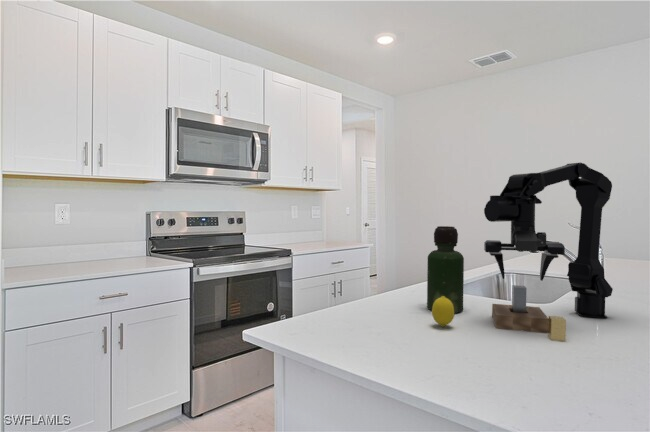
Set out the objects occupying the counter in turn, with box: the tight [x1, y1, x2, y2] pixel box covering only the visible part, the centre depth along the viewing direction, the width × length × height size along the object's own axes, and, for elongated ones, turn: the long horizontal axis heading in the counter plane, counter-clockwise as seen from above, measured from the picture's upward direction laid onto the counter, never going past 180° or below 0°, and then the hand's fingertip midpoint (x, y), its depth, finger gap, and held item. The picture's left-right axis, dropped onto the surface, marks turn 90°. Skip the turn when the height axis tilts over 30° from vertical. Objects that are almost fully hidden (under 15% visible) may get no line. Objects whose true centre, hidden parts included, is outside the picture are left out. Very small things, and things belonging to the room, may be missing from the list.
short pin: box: [547, 315, 567, 342], centre depth 96 cm, size 3×3×5 cm
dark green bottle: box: [426, 225, 465, 314], centre depth 122 cm, size 10×10×25 cm
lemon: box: [431, 296, 455, 328], centre depth 105 cm, size 6×6×8 cm
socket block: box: [491, 303, 549, 334], centre depth 108 cm, size 12×12×4 cm
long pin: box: [511, 284, 527, 313], centre depth 108 cm, size 3×3×10 cm
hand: (522, 279), depth 108 cm, fingers open, 9 cm apart
